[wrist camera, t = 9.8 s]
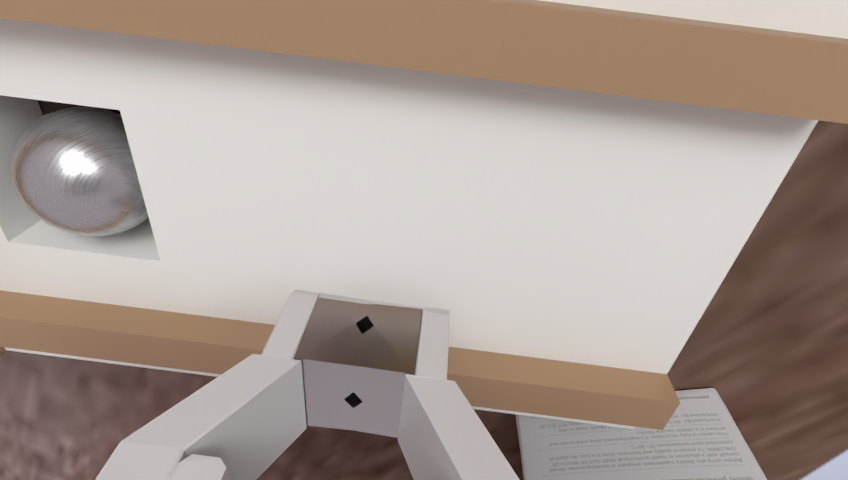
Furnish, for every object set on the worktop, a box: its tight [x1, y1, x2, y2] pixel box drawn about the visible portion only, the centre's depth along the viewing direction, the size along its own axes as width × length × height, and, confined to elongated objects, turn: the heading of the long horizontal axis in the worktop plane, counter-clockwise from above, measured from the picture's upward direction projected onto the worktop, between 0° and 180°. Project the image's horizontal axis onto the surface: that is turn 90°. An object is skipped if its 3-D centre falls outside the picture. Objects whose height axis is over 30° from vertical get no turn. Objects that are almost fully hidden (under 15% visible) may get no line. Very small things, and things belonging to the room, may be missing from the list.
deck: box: [0, 0, 848, 430], centre depth 14 cm, size 16×26×5 cm, turn 84°
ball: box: [9, 107, 149, 236], centre depth 14 cm, size 4×4×4 cm
